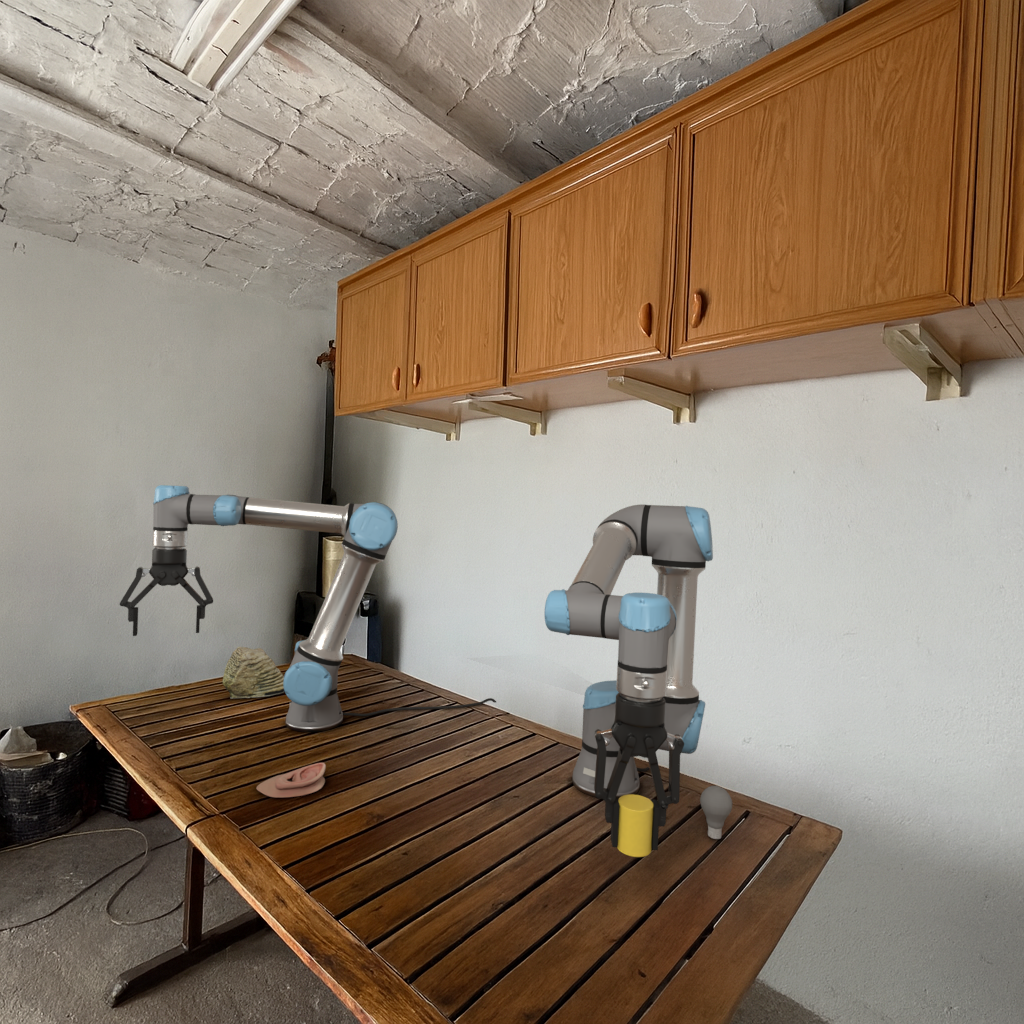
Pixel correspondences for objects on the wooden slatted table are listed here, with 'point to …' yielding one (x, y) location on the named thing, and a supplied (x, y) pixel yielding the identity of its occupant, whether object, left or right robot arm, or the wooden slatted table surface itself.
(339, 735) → the wooden slatted table surface
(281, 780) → the anatomical model
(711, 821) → the light bulb
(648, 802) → the cylinder
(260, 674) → the fossil
